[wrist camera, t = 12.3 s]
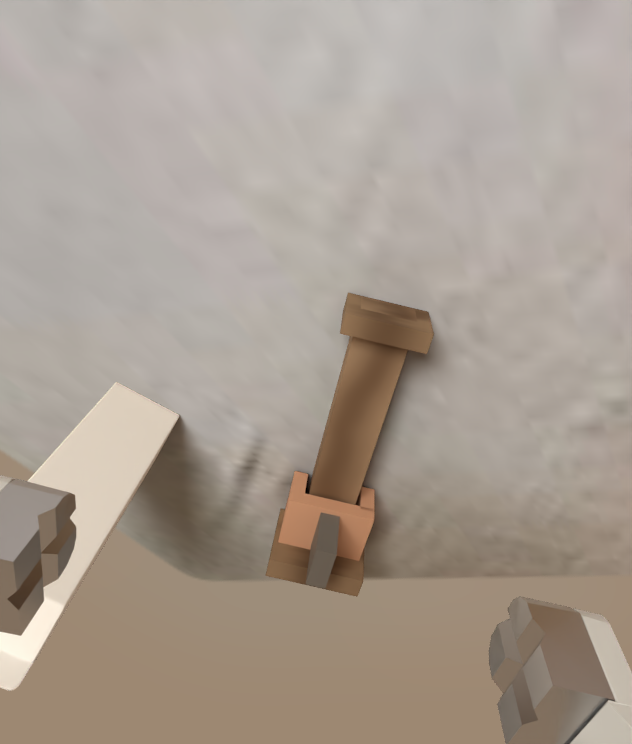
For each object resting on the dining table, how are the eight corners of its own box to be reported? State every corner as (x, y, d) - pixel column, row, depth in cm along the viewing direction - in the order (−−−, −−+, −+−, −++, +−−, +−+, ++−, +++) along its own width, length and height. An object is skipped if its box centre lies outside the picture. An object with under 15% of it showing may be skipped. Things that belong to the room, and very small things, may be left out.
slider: (374, 489, 45) (374, 558, 39) (360, 529, 48) (357, 600, 41) (294, 470, 45) (281, 536, 38) (284, 511, 48) (269, 580, 41)
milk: (116, 380, 43) (-94, 610, 24) (181, 415, 44) (31, 663, 25) (93, 430, 46) (-112, 673, 26) (155, 461, 47) (1, 718, 27)
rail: (441, 315, 37) (452, 351, 32) (359, 542, 49) (357, 596, 44) (334, 289, 37) (328, 321, 32) (277, 523, 49) (265, 575, 44)
